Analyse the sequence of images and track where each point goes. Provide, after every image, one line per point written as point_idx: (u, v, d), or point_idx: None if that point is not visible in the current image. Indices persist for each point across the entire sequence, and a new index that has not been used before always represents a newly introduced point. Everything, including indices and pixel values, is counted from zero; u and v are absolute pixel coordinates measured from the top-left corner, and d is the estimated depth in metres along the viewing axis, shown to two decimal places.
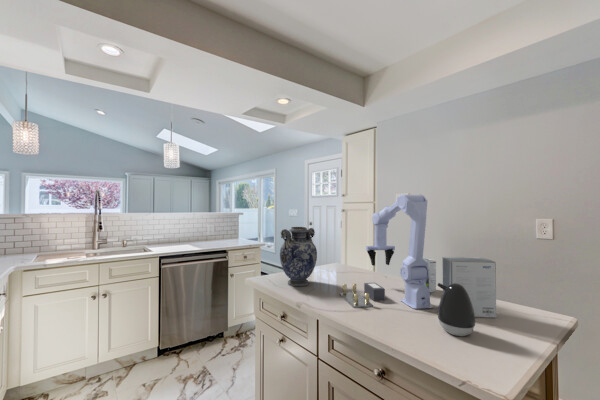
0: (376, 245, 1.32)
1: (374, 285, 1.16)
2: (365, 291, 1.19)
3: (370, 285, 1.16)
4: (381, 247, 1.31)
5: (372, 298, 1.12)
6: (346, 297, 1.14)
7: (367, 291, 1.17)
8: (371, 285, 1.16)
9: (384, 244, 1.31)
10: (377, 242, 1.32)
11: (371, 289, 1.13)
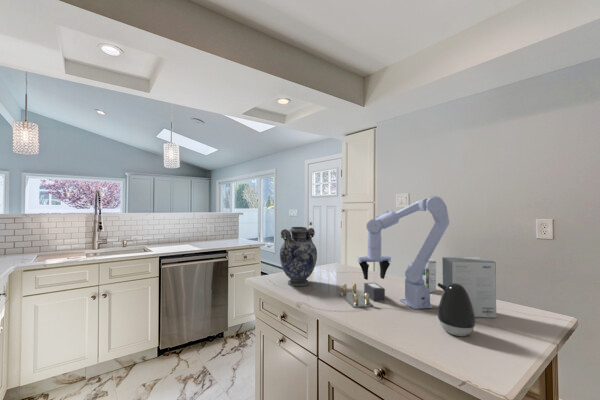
0: (369, 256, 1.15)
1: (374, 285, 1.16)
2: (365, 291, 1.19)
3: (370, 285, 1.17)
4: (375, 259, 1.13)
5: (372, 298, 1.12)
6: (346, 297, 1.14)
7: (367, 291, 1.17)
8: (371, 285, 1.16)
9: (378, 255, 1.14)
10: (371, 253, 1.14)
11: (371, 289, 1.13)
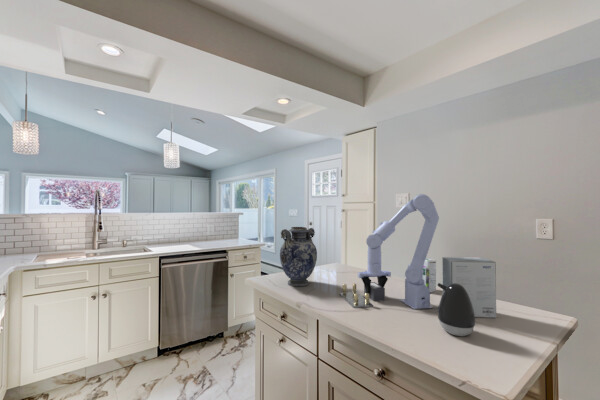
0: (369, 271, 1.15)
1: (374, 285, 1.16)
2: (365, 291, 1.19)
3: (370, 285, 1.17)
4: (375, 274, 1.13)
5: (372, 298, 1.12)
6: (346, 297, 1.14)
7: None
8: (371, 285, 1.16)
9: (378, 270, 1.14)
10: (371, 268, 1.14)
11: (371, 289, 1.13)
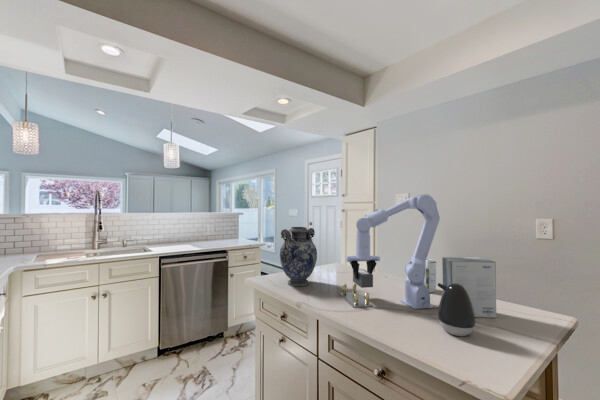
0: (358, 255, 1.13)
1: (362, 271, 1.14)
2: (354, 278, 1.17)
3: (358, 271, 1.15)
4: (363, 258, 1.11)
5: (360, 284, 1.10)
6: (346, 297, 1.14)
7: None
8: (359, 271, 1.15)
9: (367, 254, 1.12)
10: (359, 252, 1.12)
11: (359, 275, 1.11)
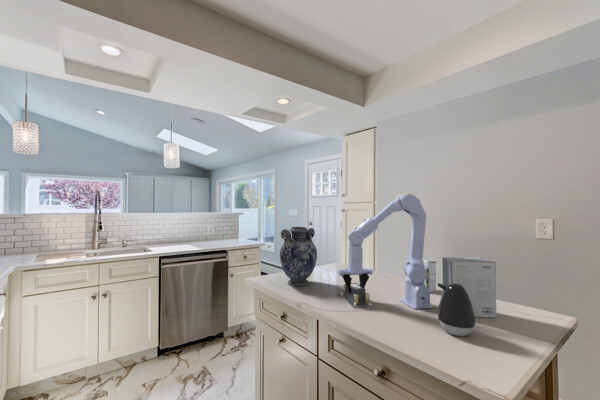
0: (350, 269, 1.11)
1: (355, 286, 1.13)
2: (346, 292, 1.15)
3: (351, 286, 1.13)
4: (356, 272, 1.09)
5: (353, 299, 1.08)
6: (346, 297, 1.14)
7: None
8: (352, 286, 1.13)
9: (359, 268, 1.10)
10: (351, 266, 1.10)
11: (351, 290, 1.10)
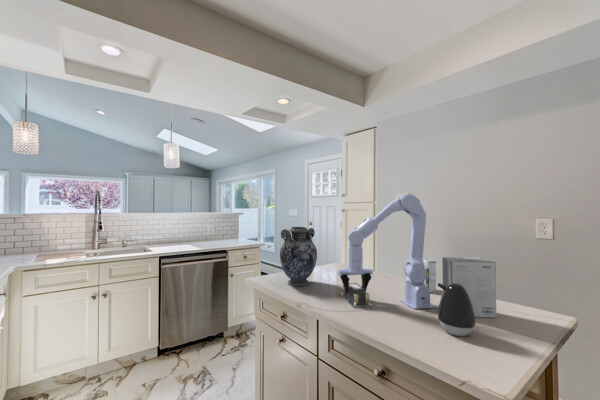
0: (350, 269, 1.11)
1: (355, 286, 1.13)
2: None
3: (351, 286, 1.13)
4: (356, 272, 1.09)
5: (353, 299, 1.08)
6: (346, 297, 1.14)
7: (348, 292, 1.13)
8: (352, 286, 1.13)
9: (359, 268, 1.10)
10: (351, 266, 1.10)
11: (351, 290, 1.10)
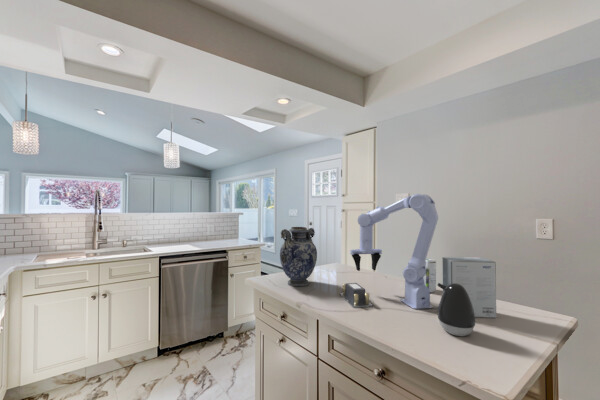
0: (361, 249, 1.22)
1: (355, 286, 1.13)
2: (346, 292, 1.15)
3: (351, 286, 1.13)
4: (366, 251, 1.20)
5: (353, 299, 1.08)
6: (346, 297, 1.14)
7: (348, 292, 1.13)
8: (352, 286, 1.13)
9: (370, 247, 1.21)
10: (362, 245, 1.21)
11: (351, 290, 1.10)
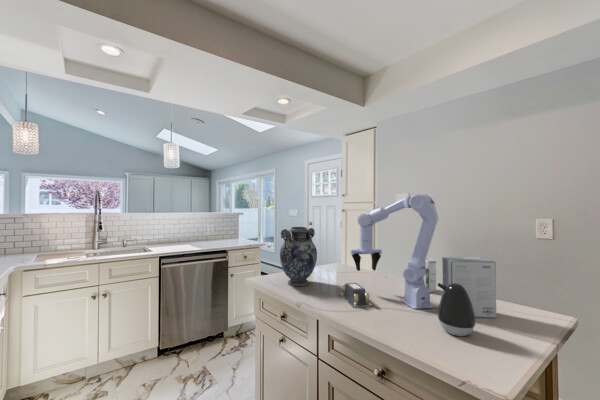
0: (361, 249, 1.22)
1: (355, 286, 1.13)
2: (346, 292, 1.15)
3: (351, 286, 1.13)
4: (367, 251, 1.20)
5: (353, 299, 1.08)
6: (346, 297, 1.14)
7: (348, 292, 1.13)
8: (352, 286, 1.13)
9: (370, 247, 1.21)
10: (362, 245, 1.21)
11: (351, 290, 1.10)
